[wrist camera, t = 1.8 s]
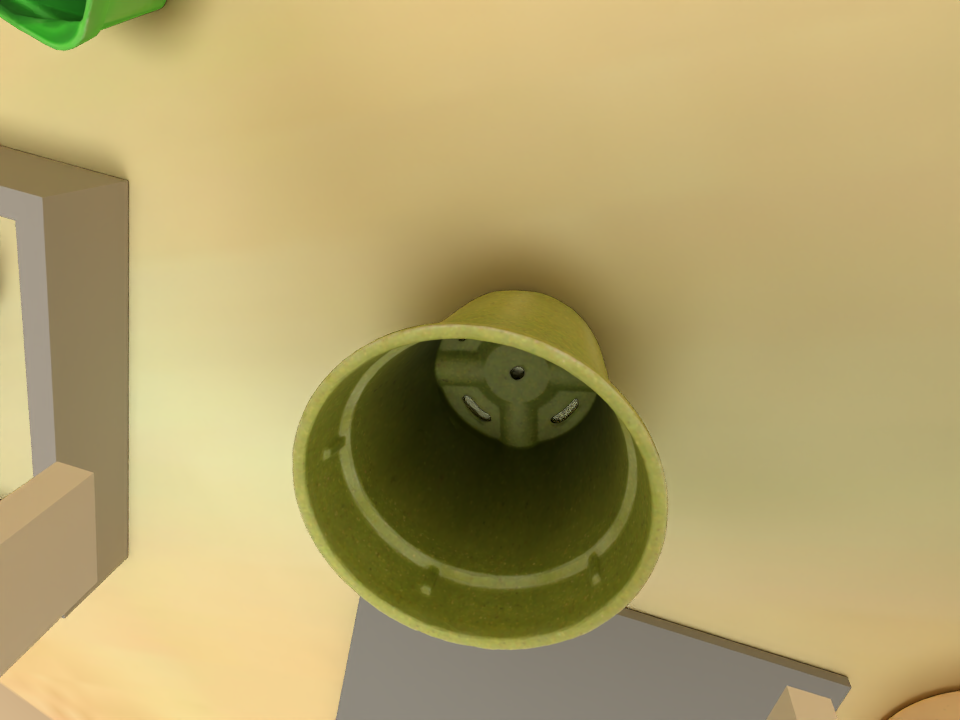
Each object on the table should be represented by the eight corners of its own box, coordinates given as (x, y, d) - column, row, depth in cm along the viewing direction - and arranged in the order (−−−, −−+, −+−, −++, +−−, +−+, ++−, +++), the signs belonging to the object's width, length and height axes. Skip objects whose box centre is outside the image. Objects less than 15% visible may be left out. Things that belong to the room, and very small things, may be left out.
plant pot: (529, 521, 27) (494, 704, 19) (346, 371, 26) (227, 498, 18) (708, 366, 23) (757, 514, 15) (501, 183, 22) (438, 238, 14)
